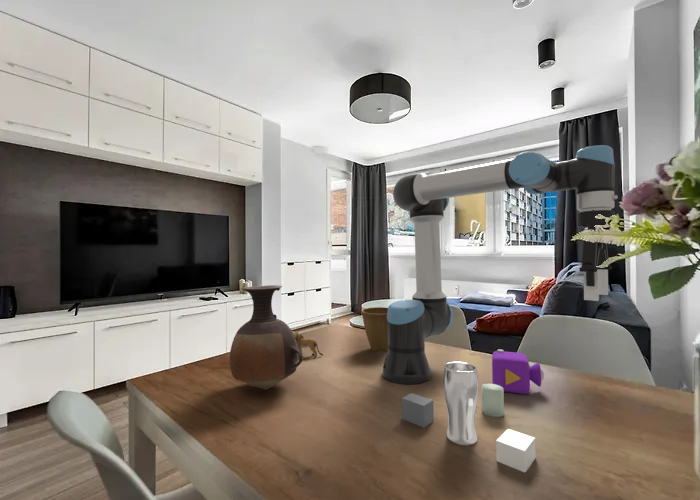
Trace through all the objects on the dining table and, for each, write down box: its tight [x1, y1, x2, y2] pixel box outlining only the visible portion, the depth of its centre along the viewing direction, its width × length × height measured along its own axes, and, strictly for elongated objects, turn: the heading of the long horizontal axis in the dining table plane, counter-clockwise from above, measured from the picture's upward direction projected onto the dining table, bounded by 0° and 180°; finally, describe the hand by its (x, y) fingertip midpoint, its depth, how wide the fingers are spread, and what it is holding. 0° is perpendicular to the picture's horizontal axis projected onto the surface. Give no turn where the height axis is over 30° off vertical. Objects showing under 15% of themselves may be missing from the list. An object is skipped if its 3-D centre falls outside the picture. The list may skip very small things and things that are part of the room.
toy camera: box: [491, 348, 545, 395], centre depth 98 cm, size 11×14×10 cm
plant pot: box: [361, 306, 388, 352], centre depth 139 cm, size 15×15×16 cm
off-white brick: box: [495, 428, 537, 473], centre depth 64 cm, size 6×5×4 cm
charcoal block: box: [401, 392, 435, 428], centre depth 80 cm, size 6×4×5 cm, turn 45°
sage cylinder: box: [480, 383, 505, 418], centre depth 83 cm, size 5×5×6 cm
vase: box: [229, 284, 304, 391], centre depth 100 cm, size 23×19×30 cm
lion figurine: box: [291, 330, 324, 358], centre depth 132 cm, size 15×5×9 cm, turn 73°
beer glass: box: [443, 361, 479, 446], centre depth 72 cm, size 7×7×15 cm
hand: (596, 297), depth 84 cm, fingers open, 13 cm apart
